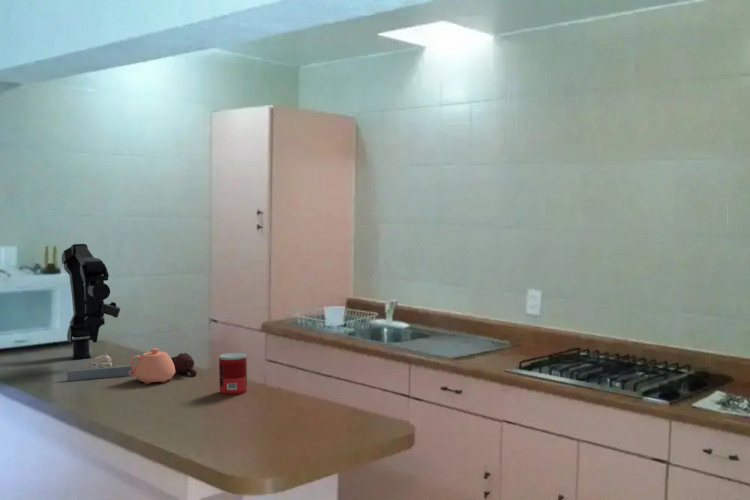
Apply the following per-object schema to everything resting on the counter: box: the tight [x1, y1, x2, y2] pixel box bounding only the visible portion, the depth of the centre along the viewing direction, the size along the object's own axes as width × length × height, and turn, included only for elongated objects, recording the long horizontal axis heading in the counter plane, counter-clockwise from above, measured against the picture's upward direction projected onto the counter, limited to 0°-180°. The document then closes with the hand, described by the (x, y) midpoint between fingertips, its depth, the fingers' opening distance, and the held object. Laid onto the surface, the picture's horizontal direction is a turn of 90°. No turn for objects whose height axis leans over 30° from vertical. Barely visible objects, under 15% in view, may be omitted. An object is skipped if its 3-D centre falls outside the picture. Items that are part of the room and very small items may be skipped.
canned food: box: [218, 352, 248, 396], centre depth 215 cm, size 8×8×11 cm
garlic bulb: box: [88, 350, 113, 369], centre depth 239 cm, size 7×6×8 cm
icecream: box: [170, 352, 198, 377], centre depth 240 cm, size 7×7×15 cm
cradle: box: [66, 364, 133, 382], centre depth 237 cm, size 6×20×3 cm, turn 112°
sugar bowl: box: [129, 347, 176, 385], centre depth 230 cm, size 12×14×10 cm
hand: (94, 342), depth 251 cm, fingers closed
